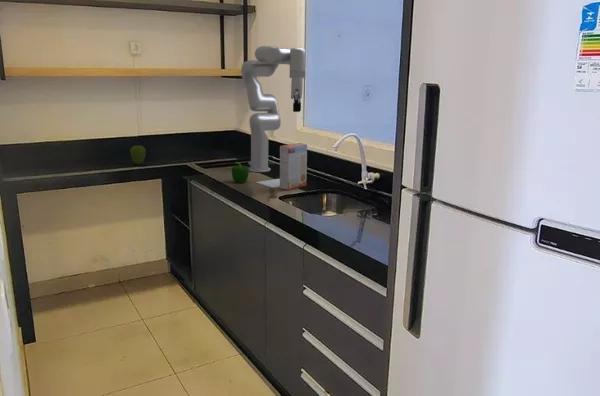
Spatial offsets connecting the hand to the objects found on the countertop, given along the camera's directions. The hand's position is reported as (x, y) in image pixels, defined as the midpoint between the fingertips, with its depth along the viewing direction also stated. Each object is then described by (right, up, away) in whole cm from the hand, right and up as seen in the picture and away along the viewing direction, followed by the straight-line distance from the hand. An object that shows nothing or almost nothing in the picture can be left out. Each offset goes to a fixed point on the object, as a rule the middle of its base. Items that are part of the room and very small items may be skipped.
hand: (297, 111), depth 248 cm
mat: (-9, -35, +8) cm, 37 cm away
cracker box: (-2, -37, 0) cm, 37 cm away
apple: (-91, -23, +45) cm, 104 cm away
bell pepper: (-28, -34, +9) cm, 45 cm away
